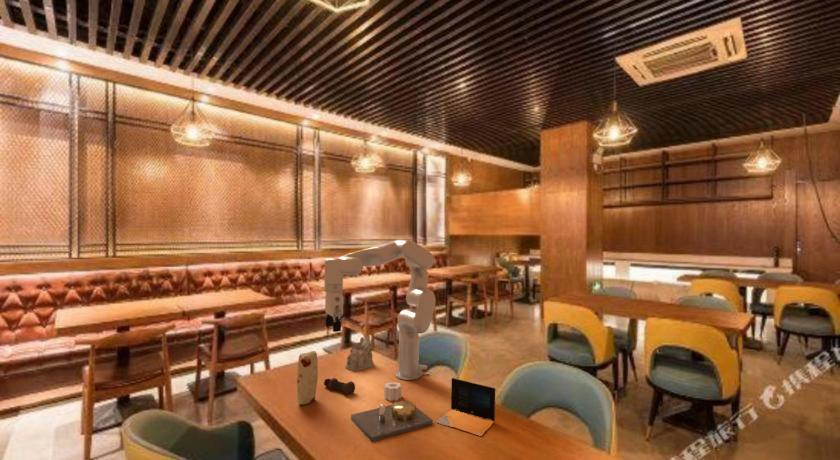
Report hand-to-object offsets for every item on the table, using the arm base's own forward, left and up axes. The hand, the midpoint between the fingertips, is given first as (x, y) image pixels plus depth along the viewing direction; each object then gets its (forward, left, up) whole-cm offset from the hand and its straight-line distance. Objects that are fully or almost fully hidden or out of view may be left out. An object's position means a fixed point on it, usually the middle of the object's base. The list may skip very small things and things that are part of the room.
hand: (333, 328), depth 165 cm
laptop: (-34, +46, -29) cm, 64 cm away
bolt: (-4, -4, -28) cm, 29 cm away
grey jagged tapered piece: (-24, -30, -28) cm, 48 cm away
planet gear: (-21, +14, -28) cm, 38 cm away
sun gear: (-16, +32, -26) cm, 45 cm away
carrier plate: (-11, +32, -28) cm, 44 cm away
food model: (+11, +1, -28) cm, 30 cm away
